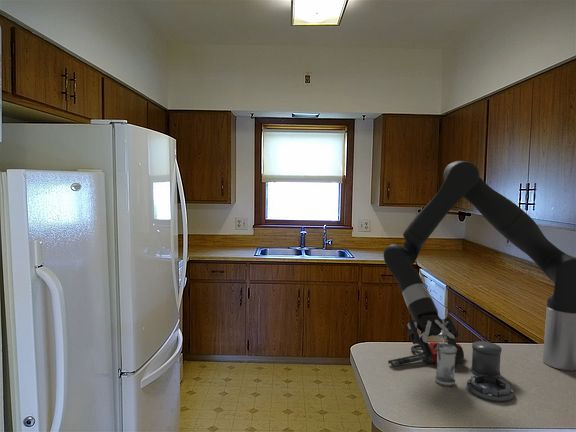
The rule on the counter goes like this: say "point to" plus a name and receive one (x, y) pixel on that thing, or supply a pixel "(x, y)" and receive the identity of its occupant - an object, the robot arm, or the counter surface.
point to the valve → (421, 356)
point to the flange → (490, 388)
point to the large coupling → (486, 359)
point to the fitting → (445, 364)
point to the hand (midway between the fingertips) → (443, 355)
